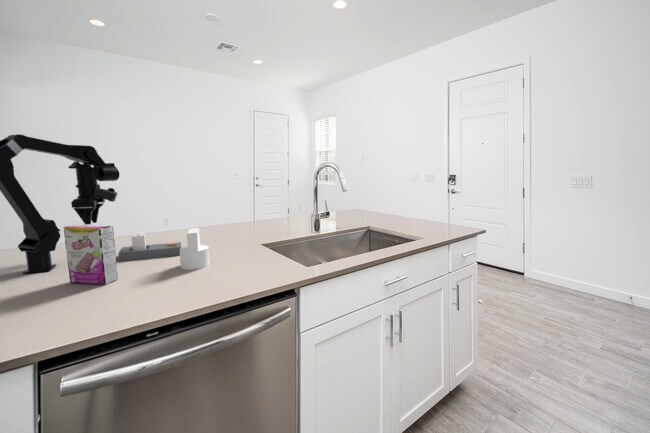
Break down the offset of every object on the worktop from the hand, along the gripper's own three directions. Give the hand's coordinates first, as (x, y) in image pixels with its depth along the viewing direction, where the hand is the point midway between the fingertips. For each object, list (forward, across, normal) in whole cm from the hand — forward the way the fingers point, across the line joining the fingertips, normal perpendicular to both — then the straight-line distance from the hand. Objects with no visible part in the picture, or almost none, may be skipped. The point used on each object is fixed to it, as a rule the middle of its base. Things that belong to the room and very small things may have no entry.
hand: (91, 224), depth 113 cm
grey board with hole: (+12, -6, -22) cm, 26 cm away
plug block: (+12, -6, -15) cm, 20 cm away
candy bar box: (+12, -32, -6) cm, 35 cm away
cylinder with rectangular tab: (+12, -27, -33) cm, 44 cm away
